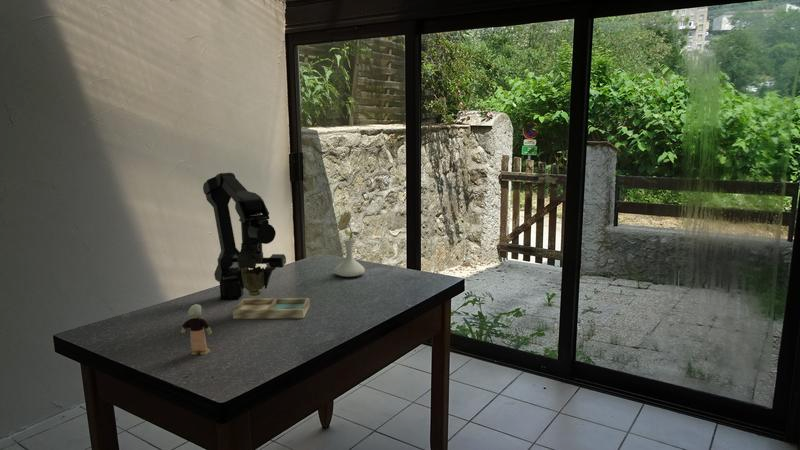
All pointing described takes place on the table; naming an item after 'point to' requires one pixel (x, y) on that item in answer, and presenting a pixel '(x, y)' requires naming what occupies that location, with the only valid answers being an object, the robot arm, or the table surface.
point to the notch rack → (271, 308)
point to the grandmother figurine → (197, 330)
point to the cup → (253, 280)
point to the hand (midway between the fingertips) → (254, 288)
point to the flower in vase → (348, 251)
